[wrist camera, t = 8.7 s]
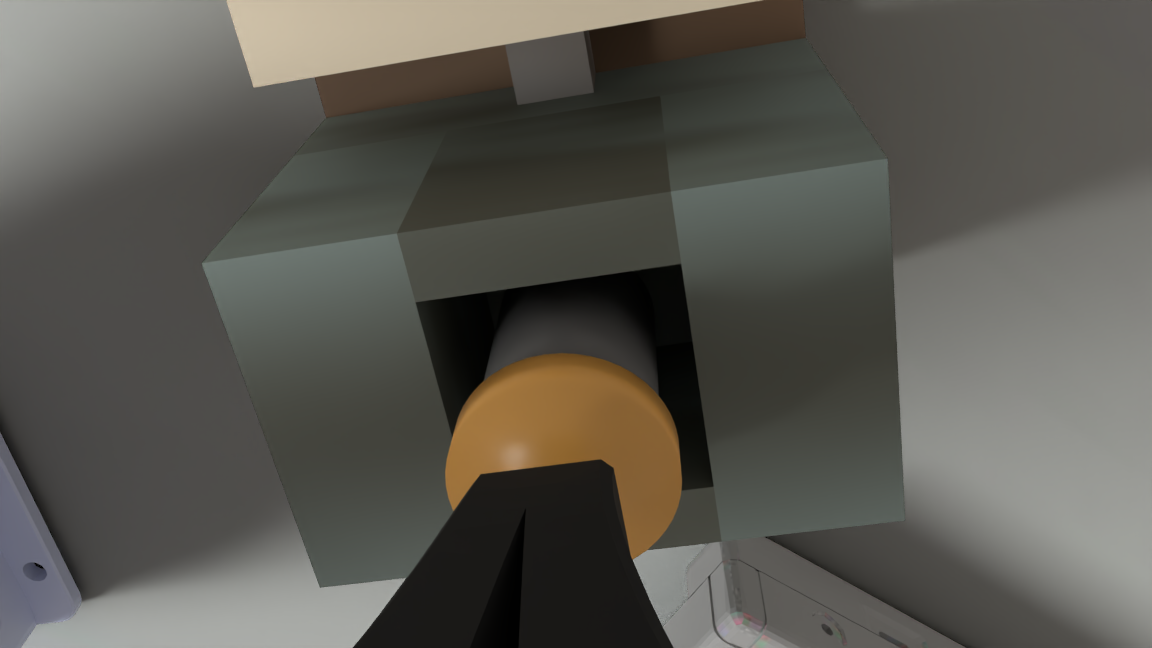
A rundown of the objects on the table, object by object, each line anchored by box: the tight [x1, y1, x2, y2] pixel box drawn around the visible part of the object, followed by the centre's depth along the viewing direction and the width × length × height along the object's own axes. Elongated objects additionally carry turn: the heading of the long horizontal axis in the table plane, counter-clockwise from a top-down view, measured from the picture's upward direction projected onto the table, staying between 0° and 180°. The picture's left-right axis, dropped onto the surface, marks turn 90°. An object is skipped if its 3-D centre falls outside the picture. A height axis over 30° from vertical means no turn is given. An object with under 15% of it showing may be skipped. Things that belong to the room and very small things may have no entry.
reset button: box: [445, 271, 682, 559], centre depth 14 cm, size 3×3×4 cm
